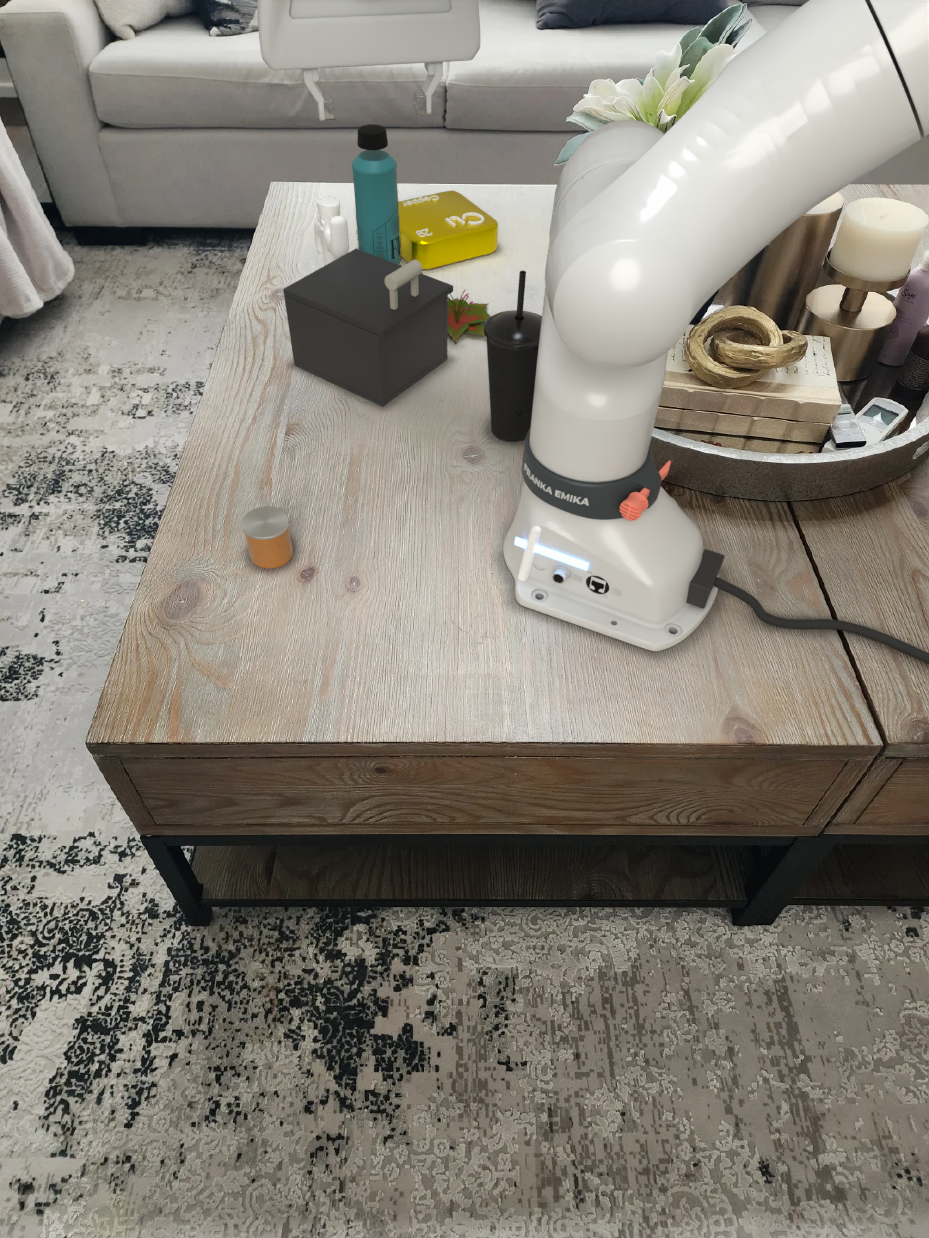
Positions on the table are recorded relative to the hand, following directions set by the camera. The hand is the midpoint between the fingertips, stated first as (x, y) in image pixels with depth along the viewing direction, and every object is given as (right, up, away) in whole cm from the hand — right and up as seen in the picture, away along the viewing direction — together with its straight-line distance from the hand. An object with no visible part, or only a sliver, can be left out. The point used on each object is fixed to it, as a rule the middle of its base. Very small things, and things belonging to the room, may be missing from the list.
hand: (375, 116), depth 83 cm
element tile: (+4, +11, +53) cm, 54 cm away
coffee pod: (-11, -42, +6) cm, 44 cm away
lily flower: (+8, -7, +37) cm, 39 cm away
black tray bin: (-4, -15, +30) cm, 34 cm away
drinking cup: (+14, -26, +21) cm, 36 cm away
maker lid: (-3, -9, +22) cm, 24 cm away
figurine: (-9, -4, +39) cm, 41 cm away
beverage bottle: (-4, +4, +47) cm, 47 cm away
